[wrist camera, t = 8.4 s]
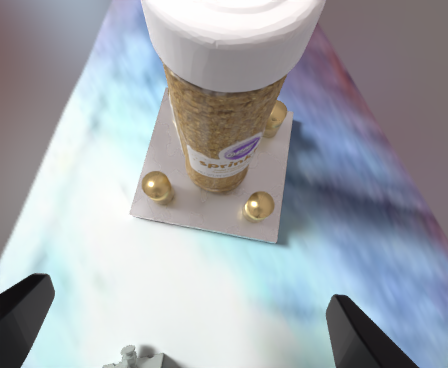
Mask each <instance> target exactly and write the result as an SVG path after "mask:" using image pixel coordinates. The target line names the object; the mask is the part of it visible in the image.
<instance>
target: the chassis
mask: <svg viewBox="0 0 448 368" xmlns="http://www.w3.org/2000/svg"><path fill="white" fill-rule="evenodd" d="M292 120H293V112H290V111H287V108H286V106H285V105H284V103H282V102H281V101H278V100H276V102H275V105H274V107H273V109H272V112H271V115H270V117H269V119H268V122H267V124H266V126H265V131H264V133H263V136H262V139H261V141H260V143H259V146H258V148H257V150H256V152H255V155H254V157H253V159H252V161H251V162H250V164H249V169H248V172H247V174H246V176H245V178H244V179H243V181H242V182H241V183H240V184H239V185H238V186H237V187H235V188H233V189H231V190H228V191H222V192H211V191H207V190H205V189H202V188H201V187H199V186H197V185H196V184H195V183H194V182H193V181H192V180H191V179H190V177H189V175H188V173H187V170H186V166H185V155H184V154H183V152H182V148H181V145H180V141H179V137H178V133H177V129H176V125H175V122H174V118H173V113H172V109H171V105H170V100H169V88H166V89H165V92H164V96H163V99H162V103H161V106H160V110H159V113H158V116H157V120H156V123H155V127H154V130H153V134H152V137H151V141H150V144H149V148H148V151H147V155H146V158H145V162H144V165H143V169H142V172H141V175H140V179H139V182H138V186H137V189H136V193H135V196H134V200H133V203H132V207H131V210H130V215H132V216H133V217H138V218H144V219H149V220H154V221H159V222H164V223H170V224H175V225H180V226H185V227H190V228H195V229H201V230H206V231H211V232H216V233H221V234H226V235H232V236H237V237H242V238H247V239H252V240H258V241H263V242H268V243H273V244H274V243H277V238H278V230H279V222H280V214H281V207H282V199H283V191H284V183H285V175H286V167H287V159H288V151H289V143H290V135H291V127H292Z"/></svg>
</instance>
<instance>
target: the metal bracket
mask: <svg viewBox="0 0 448 368" xmlns="http://www.w3.org/2000/svg"><path fill="white" fill-rule="evenodd" d="M134 350H135V346H133V345H129V346H127V347H124V348H123V349H122V351H121V355H123V357H122V362H119V364H117V365H115V366H114V365H113V363H112V364H108V365H104V366H103V368H161V367H162V362H163V357H164V355H163V353H160V354H155V355H154V356H153V357H152V358H148V356H146V357H141V358H137V355H136V352H134Z"/></svg>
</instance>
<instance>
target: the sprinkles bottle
mask: <svg viewBox="0 0 448 368" xmlns="http://www.w3.org/2000/svg"><path fill="white" fill-rule="evenodd" d="M325 1H326V0H141V3H142V7H143V11H144V16H145V20H146V24H147V27H148V31H149V35H150V39H151V42H152V44H153V47H154V49H155V51H156V52H157V54H158V55H159V57H160V59H161V61H162V63H163V66H164V70H165V74H166V78H167V83H168V88H169V100H170V105H171V109H172V113H173V118H174V122H175V125H176V129H177V133H178V137H179V141H180V145H181V148H182V152H183V154H184V155H185V166H186V170H187V173H188V175H189V177H190V179H191V180H192V181H193V182H194V183H195V184H196V185H197V186H199V187H201V188H202V189H205V190H207V191H211V192H222V191H228V190H231V189H233V188H235V187H237V186H238V185H239V184H240V183H241V182H242V181H243V179H244V178H245V176H246V174H247V172H248V169H249V164H250V162H251V161H252V159H253V157H254V155H255V152H256V150H257V148H258V146H259V143H260V141H261V139H262V136H263V133H264V131H265V126H266V124H267V122H268V119H269V117H270V115H271V112H272V109H273V107H274V105H275V102H276V100H277V97H278V95H279V93H280V90H281V88H282V85H283V83H284V80H285V78H286V76H287V73H288V72H289V71H290V70H291V69H292V68H293V67H294V66H295V65H296V64H297V62H298V61H299V60H300V58H301V56H302V54H303V52H304V50H305V48H306V46H307V44H308V42H309V39H310V37H311V35H312V33H313V31H314V28H315V26H316V24H317V21H318V19H319V16H320V14H321V12H322V9H323V7H324V4H325Z"/></svg>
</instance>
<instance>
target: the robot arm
mask: <svg viewBox="0 0 448 368" xmlns="http://www.w3.org/2000/svg"><path fill="white" fill-rule="evenodd" d="M54 296H55V290H54V287H53V284H52V281H51V278H50V276H49V275H48V274H44V273H34V274H32V275H30V276H28V277H27V278H25V279H23V280H22V281H20V282H19V283H17V284H15V285H14V286H12V287H11V288H9V289H7V290H6V291H4V292H3V293H1V294H0V368H21V366H22V364H23V362H24V361H25V359H26V357H27V355H28V353H29V352H30V350H31V348H32V346H33V343H34V341H35V339H36V337H37V335H38V333H39V330H40V328H41V326H42V324H43V322H44V319H45V317H46V315H47V313H48V311H49V308H50V306H51V304H52V302H53V299H54ZM326 320H327V325H328V330H329V335H330V340H331V345H332V350H333V355H334V360H335V365H336V368H419V367H418V366H417V365H416V364H415V363H414V362H413V361H412V360H411V359H410V358H409V357H408V356H407V355H406V354H405V353H404V352H403V351H402V350H401V349H400V348H399V347H398V346H397V345H396V344H395V343H394V342H393V341H392V340H391V339H390V338H389V337H388V336H387V335H386V334H385V333H384V332H383V331H382V330H381V329H380V328H379V327H378V326H377V325H376V324H375V323H374V322H373V321H372V320H371V319H370V318H369V317H368V316H367V315H366V314H365V313H364V312H363V311H362V310H361V309H360V308H359V307H358V306H357V305H356V304H355V303H354V302H353V301H352V300H351V299H350V298H349V297H348V296H346V295H338V294H335V295H333V296H332V298H331V300H330V303H329V305H328V307H327V310H326Z"/></svg>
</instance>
